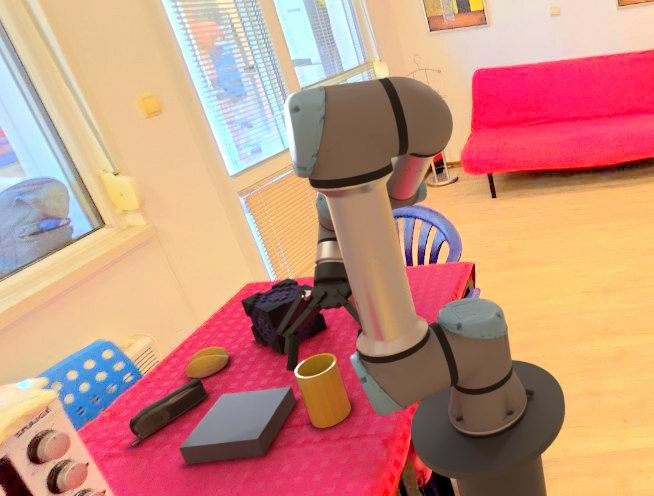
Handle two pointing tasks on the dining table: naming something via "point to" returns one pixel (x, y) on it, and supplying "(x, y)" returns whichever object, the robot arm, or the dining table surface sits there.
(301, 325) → the robot arm
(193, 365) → the bread roll
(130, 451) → the dining table surface
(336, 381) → the yellow cup
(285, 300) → the energy cube
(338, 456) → the dining table surface
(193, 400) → the dark pencil case
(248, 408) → the grey block
